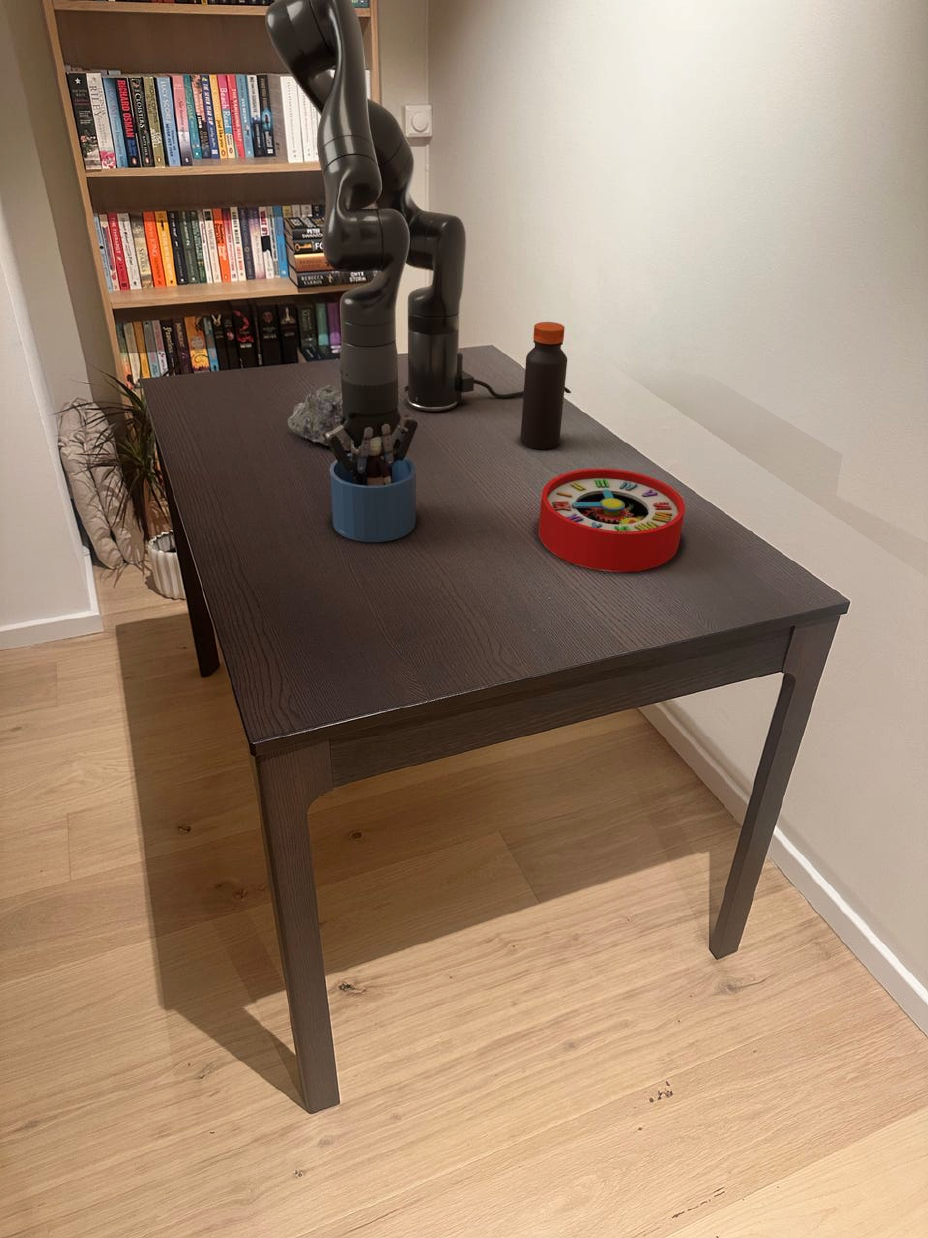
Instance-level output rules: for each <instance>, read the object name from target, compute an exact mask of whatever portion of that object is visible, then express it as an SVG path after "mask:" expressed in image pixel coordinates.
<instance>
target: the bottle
mask: <svg viewBox="0 0 928 1238" xmlns="http://www.w3.org/2000/svg"><path fill="white" fill-rule="evenodd" d="M565 329H566V328H565V326H564V325H563V324H561V323H558V322H553V321H540V322H537V323H535V324H534V326H533V335H532V336H533V337H532V339H533V341H532V342H533V343H534V347H533V348H532V349H530V351H528V352H527V354H526V357H525V368H524V382H523V391H524V394H523V395H522V409H521V425H520V436H519V437H520V442H521V444H522V445H524V446H526V448H531V449H533V450H534V449H535V450H551V449H553V448H555V447H557V446H558V445H559V444H560V440H561V431H562V419H563V411H564V410H563V409H564V399H565V391H564V390H565V387H566V379H567V370H568V369H567V368H568V356H567V355H566V353H565V352H564V351H563V349H562V345H563V344H564V339H565Z"/></svg>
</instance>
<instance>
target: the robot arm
mask: <svg viewBox="0 0 928 1238" xmlns="http://www.w3.org/2000/svg"><path fill="white" fill-rule="evenodd" d="M264 15H265V16H264V17H265V19H264V22H265V28H266V31H267V34H268V37H269V40H270V42H271V44H272V46H273V49H274V50H275V52H276V54H277V55H278V57H279V60H280V61H281V62H282V64H283V66H284V67H285V69H286V70H287V71H288V73H289V74H290V76H291V77H292V78H293V80H294V82H295V83H296V84H297V85H298V86H299V88H300V89H301V91H302V92H303V94H304V95H305V97H306V98H307V100H309V102H310V103H311V105H312V106H313V107H314V109H315V110H316V111H317V113H318V114H319V115H320V118H319V123H318V127H317V133H316V150H317V156H318V161H319V167H320V170H321V175H322V179H323V180H322V181H323V187H324V192H325V194H324V196H325V208H324V209H325V210H324V211H325V212H324V219H323V224H322V225H323V226H322V234H321V249H322V252H323V253H322V254H323V257H324V259H325V260H326V262H327V263H328V265H329V266H330V267H332V269H334V270H335V271H337V272H339V273H360V272H361V273H362V272H363V273H365V272H376V273H375V275H374V277H373V278H372V280H371V281H370V282H368V283H366V284H364V285H362V286H358V287H356V288H352V289H350V290H347V291H345V292H344V293H343V294H341V297H340V300H339V318H340V319H339V320H340V321H339V322H340V323H339V324H340V338H341V339H340V351H339V353H340V354H339V360H340V361H339V362H340V363H339V364H340V365H339V373H340V383H341V386H340V387H341V392H342V406H343V417H342V419H341V422H340V426H338V427H337V428H335V429H334V430H332V431H330V430H325V431H324V433H323V436H324V438H325V440H326V442H327V443H328V445H329V446H328V447H329V449H330V451H331V452H332V454H333V456H334V458H335V460H337V461H338V463H339V464H340V465H341V466H342V467H343V468H344V469H345V470H346V471H348V472H350V471H352V482H353V484H357V485H364V486H367V473H366V472H365V469H366V461H367V458H368V457H369V451H370V443H371V439H373V438H376V437H381V440H382V443H381V444H382V445H381V446H382V450H381V452H380V453H379V454H378V456H379V457H381V458H382V459H383V460H384V461H385V463H386V466H387V468H388V470H389V473H390V478H391V484H392V466H393V465H394V463H395V462H396V461H398V460H399V461H402V460H404V458H405V457H406V456H407V454H408V452H409V449H410V446H411V444H412V441H413V438H414V436H415V434H416V431H417V428H418V425H419V424H418V422H417V420H415V419H414V418H412V417H411V416H410V415H408V414H405V415H401V413H400V411H399V354H398V348H397V347H398V346H397V322H396V321H397V320H396V318H397V317H396V311H397V310H396V309H397V301H398V295H399V290H400V285H401V280H402V277H403V274H404V270H405V266H406V265H408V266H410V267H412V268H414V269H419V270H424V271H428V272H429V271H430V272H432V280H431V281H432V282H431V285H428V286H424V287H423V286H422V287H419V288H416V289H414V290H412V291H410V293H408V296H407V385H406V386H404V393H407V405H408V406H409V407H411V408H412V409H415V410H418V411H421V412H428V413H429V412H430V413H433V412H434V413H435V412H436V413H438V412H439V413H440V412H446V411H449V410H452V409H454V408H456V407H457V406H459V405H460V406H461V405H462V399H463V393H469V392H473V391H474V389H475V385H479V386H482V387H484V388H485V389H486V390H488V392H489V393H490V395H492V396H493V397H494V398H497V399H502V400H503V399H512V398H515V397H521V396H522V397H523V394H524V390H522V391H517V392H512V393H506V394H501V393H498V392H496V391H494V389H493V387H492V386H491V385H489V384H488V383H486V382H484V381H483V380H479V379H475V377H474V376H472V375H471V374H469V373H467V372H466V371H465V370H463V366H464V365H463V364H464V363H463V362H464V355H463V353H461V352H460V351H459V348H460V347H459V346H460V310H461V307H460V306H461V300H462V296H463V291H464V282H465V281H464V278H465V267H466V266H465V265H466V256H467V255H466V254H467V232H466V227H465V224H464V222H463V220H462V219H461V217H459V216H457V215H454V214H453V215H452V214H448V213H440V212H435V211H428V210H424V209H422V208H421V207H419V206H418V205H417V203H416V201H415V200H414V198H413V197H412V195H411V193H410V188H411V185H412V181H413V177H414V171H415V155H414V152H413V150H412V149H413V148H412V147H411V145H410V143H409V140H408V139H407V136H406V135H405V133H404V131H403V129H402V127H401V125H400V124H399V123H400V122H398V119H397V118H396V117H395V116H394V115H393V113H392V112H391V111H389V110H388V109H387V108H386V107H384V106H383V105H382V104H379V103H378V102H376V101H375V100H372V99H370V98H369V97H368V83H367V70H366V59H365V46H364V39H363V31H362V27H361V23H360V18H359V16H358V13H357V10H356V7H355V5H354V3H353V0H275V1H273V2H272V3H271V4H270V5H269V6H268V7H267V9H266V11H265V14H264ZM333 68H334V73H333V76H331V74H330V73H329V72H328V70H331V69H333ZM373 205H374V206H375V208H369V207H370V206H373ZM564 393H566V394H571V393H572V391H571V390H570V389H569V388H568V387H566V386H565V390H564ZM396 429H397V431H396V433H395V430H396ZM345 433H346V434H347V435H348V436H349V437H350V438H351V446H350V448H351V450H350V453H351V459H349V457H348V455H347V454H348V453H347V450H344V448H343V446H342V445H343V444H344V434H345ZM394 433H395V436H394V438H393V441H392V436H393V434H394ZM359 447H360V448H359ZM383 483H384V480H383ZM384 485H385V483H384Z"/></svg>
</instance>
